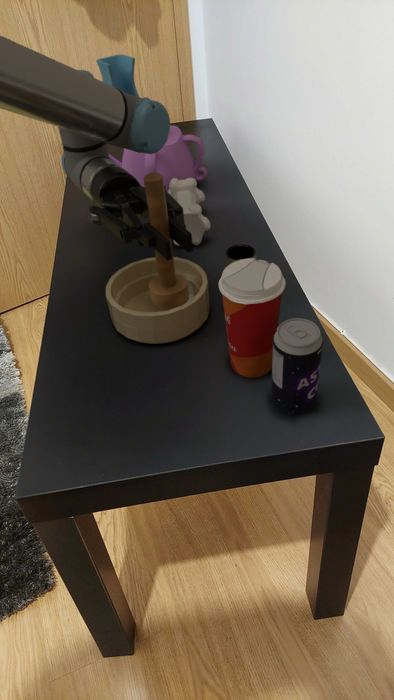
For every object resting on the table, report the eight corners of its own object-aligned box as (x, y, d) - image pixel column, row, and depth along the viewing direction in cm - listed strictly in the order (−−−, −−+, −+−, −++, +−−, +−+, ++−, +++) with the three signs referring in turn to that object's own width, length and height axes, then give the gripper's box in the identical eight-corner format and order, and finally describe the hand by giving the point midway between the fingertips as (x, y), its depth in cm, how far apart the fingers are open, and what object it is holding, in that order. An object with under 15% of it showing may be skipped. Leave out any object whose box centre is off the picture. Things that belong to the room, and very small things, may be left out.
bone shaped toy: (164, 214, 107) (159, 177, 102) (205, 210, 108) (202, 172, 102) (166, 251, 96) (161, 211, 91) (212, 246, 96) (209, 206, 91)
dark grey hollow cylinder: (223, 312, 81) (219, 256, 74) (234, 296, 84) (233, 241, 77) (249, 319, 79) (248, 262, 72) (260, 302, 82) (260, 247, 75)
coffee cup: (239, 337, 76) (237, 250, 66) (291, 353, 73) (296, 264, 63) (212, 372, 71) (204, 284, 61) (265, 392, 68) (267, 301, 58)
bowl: (132, 360, 74) (125, 328, 70) (100, 304, 85) (93, 274, 81) (226, 325, 79) (225, 294, 75) (185, 276, 89) (182, 247, 85)
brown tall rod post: (159, 314, 78) (140, 191, 65) (145, 294, 82) (124, 174, 69) (195, 302, 80) (183, 179, 66) (179, 283, 84) (165, 164, 70)
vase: (121, 146, 139) (107, 64, 125) (108, 139, 144) (93, 59, 130) (146, 139, 142) (135, 58, 128) (133, 131, 147) (121, 53, 133)
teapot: (218, 188, 115) (215, 122, 105) (142, 221, 106) (130, 152, 96) (169, 165, 126) (162, 104, 117) (96, 193, 118) (82, 129, 108)
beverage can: (296, 426, 63) (302, 355, 55) (262, 402, 66) (263, 332, 58) (324, 401, 66) (334, 330, 58) (290, 379, 69) (295, 309, 61)
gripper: (156, 196, 90) (228, 252, 74) (72, 223, 85) (131, 289, 69) (150, 153, 85) (226, 204, 69) (61, 179, 80) (122, 241, 64)
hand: (179, 246), depth 69 cm, fingers closed on brown tall rod post, 3 cm apart
